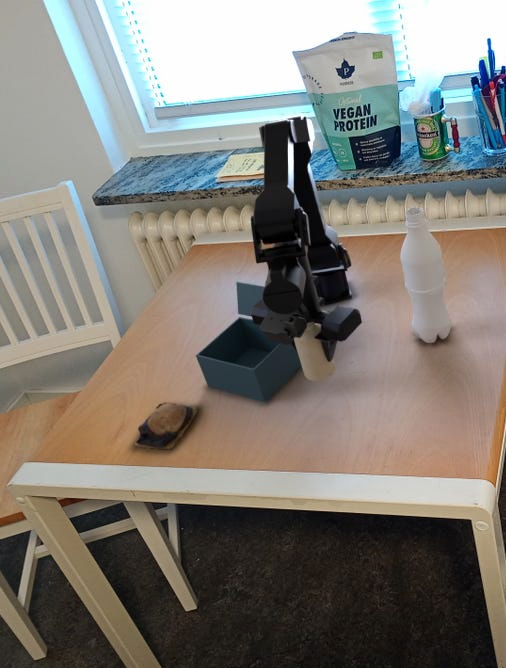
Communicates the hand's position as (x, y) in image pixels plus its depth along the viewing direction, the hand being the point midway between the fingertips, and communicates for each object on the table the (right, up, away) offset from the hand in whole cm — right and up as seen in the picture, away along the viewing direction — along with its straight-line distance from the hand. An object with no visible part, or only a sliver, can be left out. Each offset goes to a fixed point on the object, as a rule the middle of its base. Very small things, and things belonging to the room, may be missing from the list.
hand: (316, 357), depth 123 cm
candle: (+1, -3, +2) cm, 3 cm away
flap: (-10, +10, +9) cm, 17 cm away
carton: (-12, -3, +11) cm, 16 cm away
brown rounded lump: (-26, -12, +3) cm, 29 cm away
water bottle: (+21, +4, +11) cm, 24 cm away
